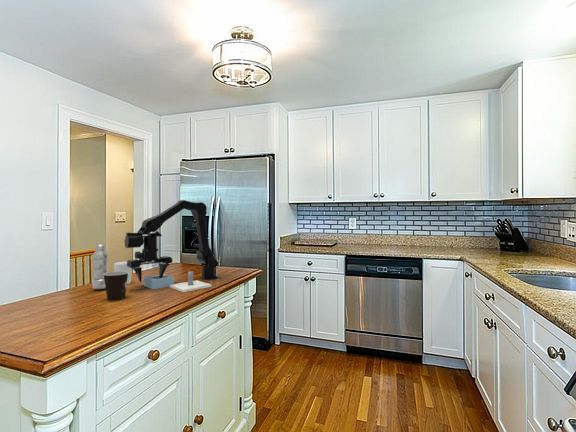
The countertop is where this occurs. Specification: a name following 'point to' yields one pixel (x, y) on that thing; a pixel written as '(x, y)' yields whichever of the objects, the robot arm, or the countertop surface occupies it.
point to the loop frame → (158, 281)
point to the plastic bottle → (100, 266)
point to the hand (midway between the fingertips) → (150, 280)
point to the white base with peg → (190, 284)
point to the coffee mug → (116, 285)
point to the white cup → (123, 269)
